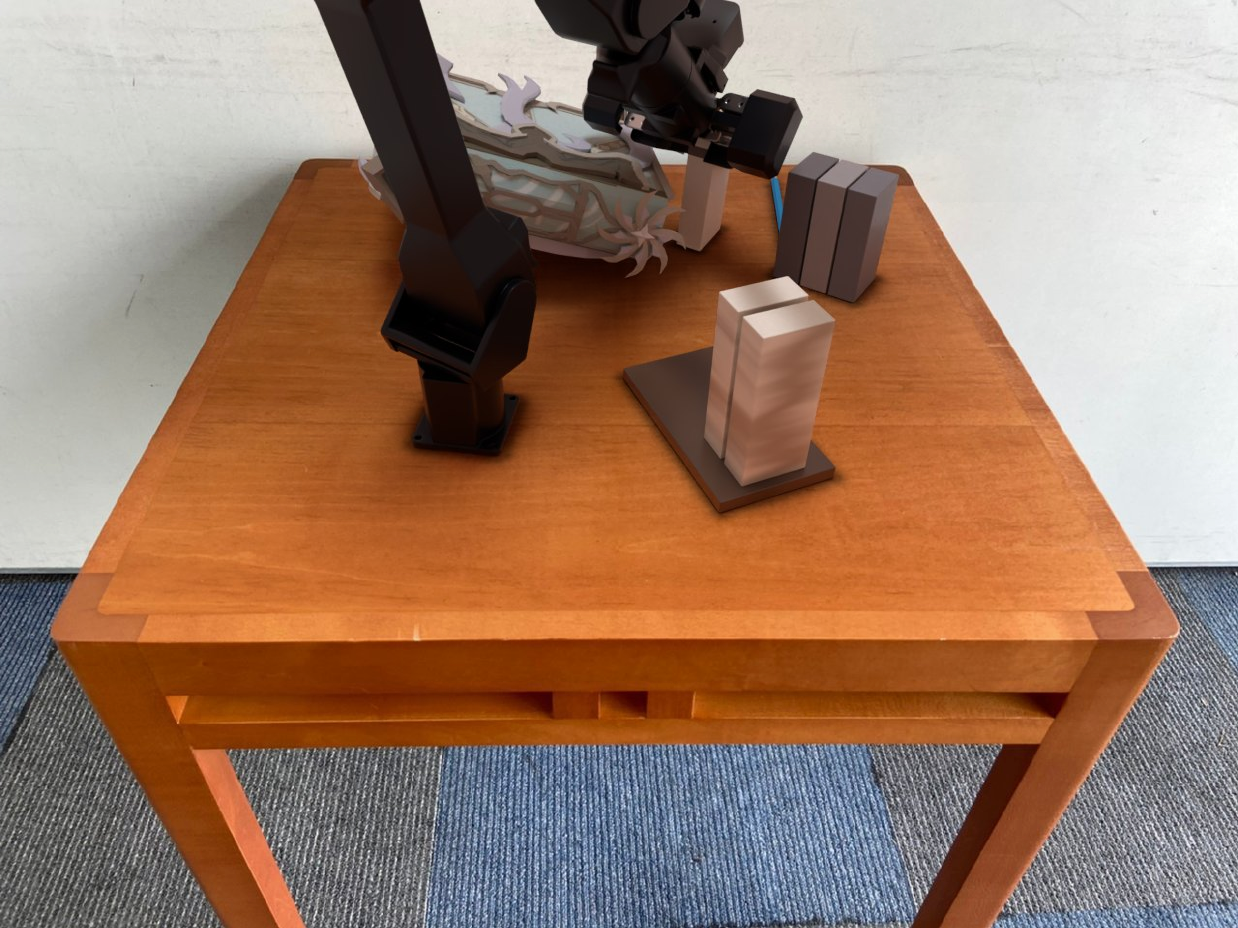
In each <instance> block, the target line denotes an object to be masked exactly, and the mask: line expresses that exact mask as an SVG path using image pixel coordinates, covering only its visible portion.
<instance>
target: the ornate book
mask: <svg viewBox="0 0 1238 928" xmlns="http://www.w3.org/2000/svg"><path fill="white" fill-rule="evenodd" d="M436 53H437V56H438V59H439V62H440V65H441V69H442V72H443V75H444V78H445V81H446V85H447V88H448V91H449V94H450V97H451V100H452V104H453V107H454V110H455V113H456V116H457V120H458V123H459V126H460V129H461V132H462V136H463V139H464V142H465V145H466V148H467V151H468V155H469V158H470V161H471V164H472V167H473V171H474V174H475V177H476V180H477V183H478V187H479V190H480V193H481V196H482V199H483V202H484V204H485V205H487V206H490V207H493V208H496V209H499V210H502V211H504V212H507V213H510V214H513V215H516V216H519V217H521V218H522V219H523V221H524V223H525V225H526V227H527V229H528V235H529V243H530V249H531V250H532V249H533V250H536V251H541V252H546V253H549V254H554V255H560V256H566V257H574V258H581V259H582V258H583V259H601V260H604V261H605V262H608V263H618V262H621V261H623V260H626V259H633V260H636V266H635V267H634V269H633V270H632V271H631V272H629V273H628V274H627V275H626V276H624V278H629V277H632V276H635V275H637V274H639V273H640V272H641V271H643V270H644V267H645V266H646V264H647V261H648V260H649V259H651V257H652V256H653V257H656V258H659V260H660V269H659V275H661V274H662V272H663V271H664V269H665V268H666V267H667V265H668V254H667V251H666V249H665V247H664V246H663V245H664V243H667V242H669V241H672V240H673V241H676V242H677V241H678V242H680V244H681V245H680V246H682V247H683V248H684V249H685V250H687V247H685V242H684V238H683V237H682V236H681V234H680V233H678V231H675V230H672V229H671V228H670V229H669V228H663V227H664V224H665V221H666V218H667V217H668V216H670V215H671V214H673V213H680V212H683V211H686V210H684V209H681V207H679V206H676V205H668V203H670V202H672V201H673V200H674V199H675V196H676V194H675V193H674V191H673V188H672V186H671V184H670V182H669V180H668V178H667V176H666V173H665V171H664V169H663V167H662V165H661V162H660V161H659V159H658V156H657V155H656V152H655V150H654V148H653V147H650V146H646V145H643V144H640V143H636V142H634V141H632V140H631V137H630V134H631V131H632V129H633V128H629V127H626V126H625V125H624V121H625V120H622V119H620V121H619V124H620V125H621V126H622V128H623V129H622V131H621V134H620V135H617V136H615V135H612V134H608V133H605V132H601V131H598V130H594V129H592V128H591V127H590V126H589V125H588V124H587V123H586V122H585V121H584V118H583V114H582V108H579V107H576V106H573V105H570V104H566V103H564V102H563V103H562V102H559V101H552V100H550V101H547V102H546V101H541V100H538V99H537V98H538V97H539V96H540V95H541V94H542V89H541V86H540V85H539V84H538V83H537V82H536V81H535V80H533V78H531V77H529V76H527V75H525V74H524V76H523V78H524V80H525V81H526V83H525V85H524V86H523V88H521V87H520V86H519V85H518V84H517V82H516V81H515V80H514V79H513V78H511V77H510V76H508V75H506V74H504V73H500V72H498V74H497V76H498V78H499V79H500V80H501V81H502V82H504V84H505V86H506V88H507V90H502V89H498V88H496V87H495V86H494V84H491V83H488V82H487V81H484V80H481V79H477V78H473V77H470V76H466V75H462V74H458V73H453V72H451V71H452V69H453V68H454V63H453V62H452V61H451V60H449V59H447V58H446V57H444V56H442V55H441V54H440V53H438V52H436ZM677 153H678V154H681V155H685V153H681V152H677ZM357 166H358V169H359V173H360V174H361V176H362V177H363V178H364V180H365V182H367V183H368V190H369V192H370V193H371V195H372V196H373V197H375V198H376V199H377V200H378V201H382V202H383V203H384V204H385V206H386V207H387V208H388V209H389V210H390V211H391V213H393V215H394V216H395V217H396V218H397V220H399V222H400V223H401V224H404V223H405V220H404V217H403V215H402V212H401V210H400V208H399V205H398V203H397V200H396V198H395V195H394V193H393V190H392V188H391V186H390V183H389V181H388V178H387V176H386V173H385V171H384V169H383V166H382V164H381V161H380V159H379V156H378V154H377V151H376V149H375V147H374V146H373V152H372V158H371V159H369V160H367V159H366V158H364V157H362V156H361V155H358V160H357Z"/></svg>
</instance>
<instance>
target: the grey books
mask: <svg viewBox="0 0 1238 928" xmlns="http://www.w3.org/2000/svg"><path fill="white" fill-rule="evenodd" d="M787 173H788V174H787V179H786V185H785V191H784V198H783V212H782V218H781V225H780V232H779V231H778V239H777V244H776V245H777V246H776V252H775V258H774V259H775V260H774V267H773V272H772V277H774V278H776V279H777V278H782V277H786V276H788V277H789V278H791V279H792V280H793V281H794V282H795V283H796V284H797V285H798V284H799V286H800V287H805V288H807V289H810V290H813V291H816V292H819V293H821V294H826V293H827V295H828V296H832V297H835V298H837V299H841V300H844V301H846V302H850V303H852V304H854V303H855V302H856V301H857V300H858V299H859V297H860V296H861V295H862V294H863V293H864V292H865V291H866V290H867V288H869V286H870V285H871V284H872V283H873V282H874V280H876V276H877V271H878V268H879V264H880V260H881V259H880V258H881V255H882V250H883V247H884V241H885V239H886V233H887V229H888V224H889V220H890V216H891V212H892V207H893V203H894V198H895V195H896V191H897V186H898V183H899V178H900V174H898V173H894V172H890V171H888V170H887V171H886V170H883V169H879V168H876V167H869V166H868V165H864V164H861V163H858V162H853V161H850V160H846V159H840V158H839V157H834V156H831V155H828V154H824V153H819V152H817V151H816V152H815V151H812V152H811V153H810V154H808V155H807V156H806V157H805V158H804V159H802V160H801V161H800V162H799V163H797V164H796V165H795V166H793V167H792V168H791V169H790V170H788V172H787Z"/></svg>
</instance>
